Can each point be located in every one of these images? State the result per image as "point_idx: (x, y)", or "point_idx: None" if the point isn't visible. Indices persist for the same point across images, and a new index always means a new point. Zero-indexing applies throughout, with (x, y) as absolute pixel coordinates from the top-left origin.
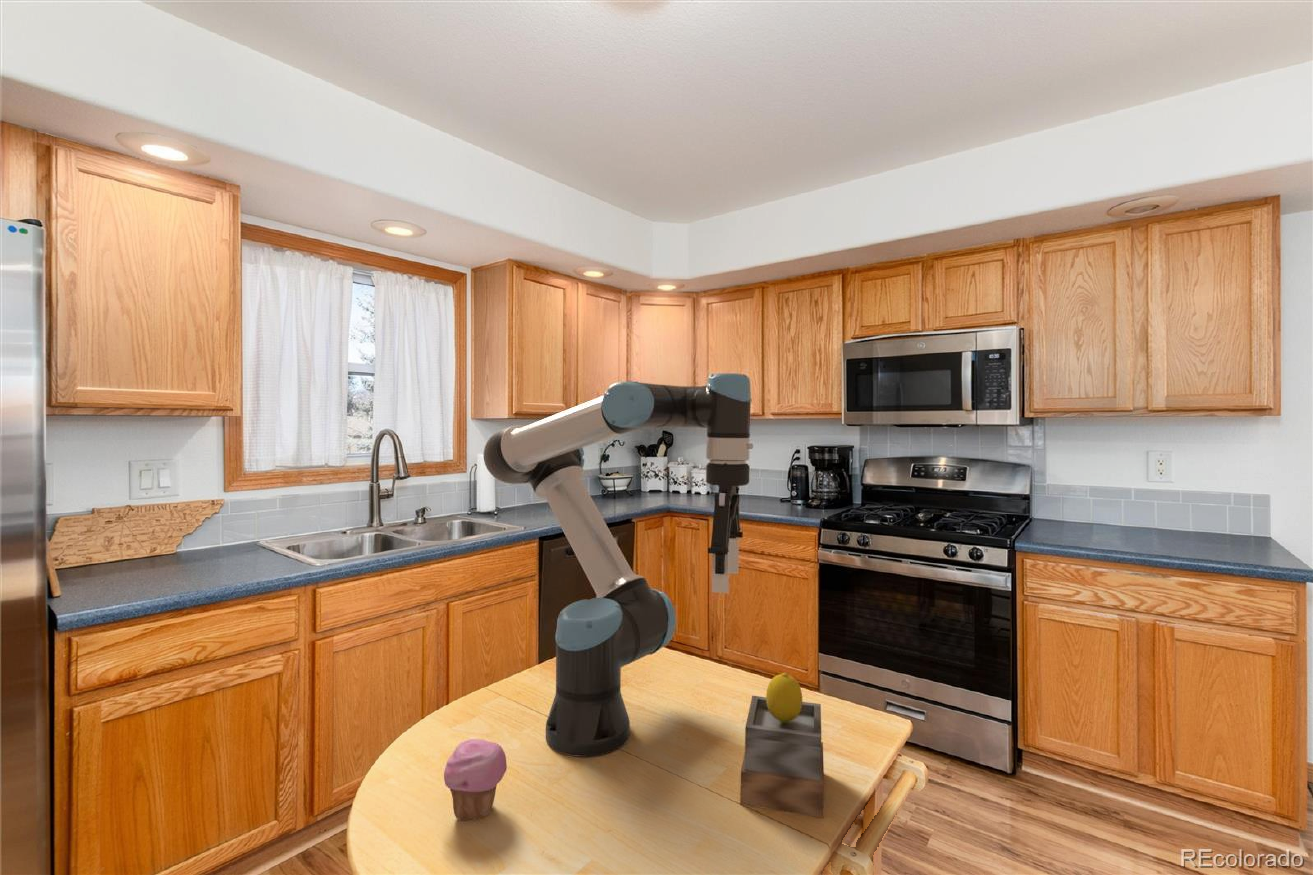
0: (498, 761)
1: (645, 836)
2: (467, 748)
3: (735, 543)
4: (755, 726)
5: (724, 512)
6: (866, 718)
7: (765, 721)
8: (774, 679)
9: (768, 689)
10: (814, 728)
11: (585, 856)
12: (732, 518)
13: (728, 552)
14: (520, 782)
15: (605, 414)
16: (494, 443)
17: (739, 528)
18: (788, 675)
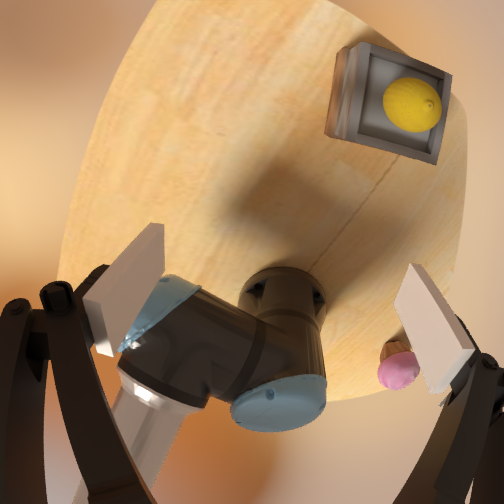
0: (411, 363)
1: (435, 237)
2: (405, 384)
3: (112, 300)
4: (434, 152)
5: None
6: None
7: (392, 127)
8: (427, 123)
9: (421, 131)
10: (434, 75)
11: (446, 274)
12: (446, 495)
13: (135, 299)
14: (360, 334)
15: None
16: None
17: (18, 313)
18: (427, 99)
